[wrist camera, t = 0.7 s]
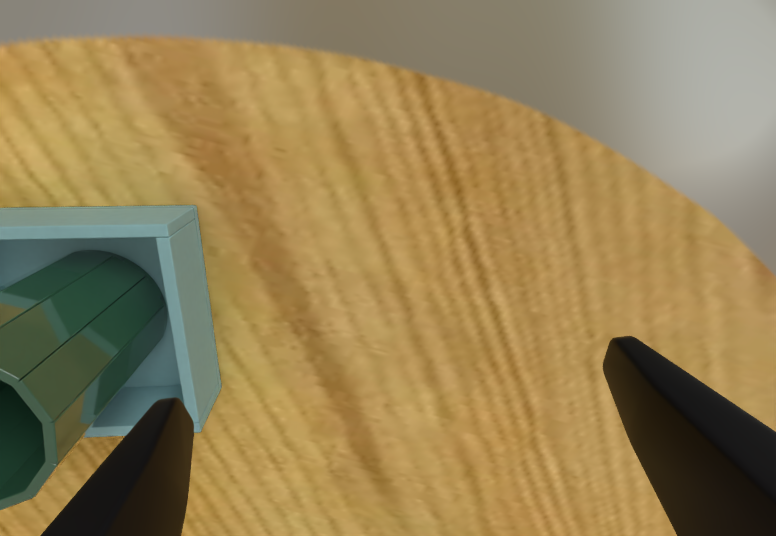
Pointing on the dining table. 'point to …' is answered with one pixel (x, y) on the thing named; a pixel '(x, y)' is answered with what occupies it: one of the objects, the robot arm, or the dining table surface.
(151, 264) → the bin
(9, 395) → the cup
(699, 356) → the dining table surface
